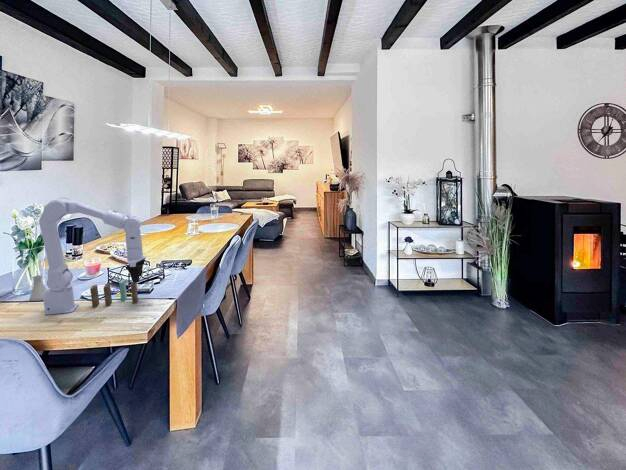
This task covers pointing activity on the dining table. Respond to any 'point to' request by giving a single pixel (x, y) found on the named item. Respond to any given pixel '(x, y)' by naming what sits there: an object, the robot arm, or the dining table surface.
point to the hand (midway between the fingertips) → (137, 279)
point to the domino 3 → (123, 290)
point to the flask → (37, 289)
